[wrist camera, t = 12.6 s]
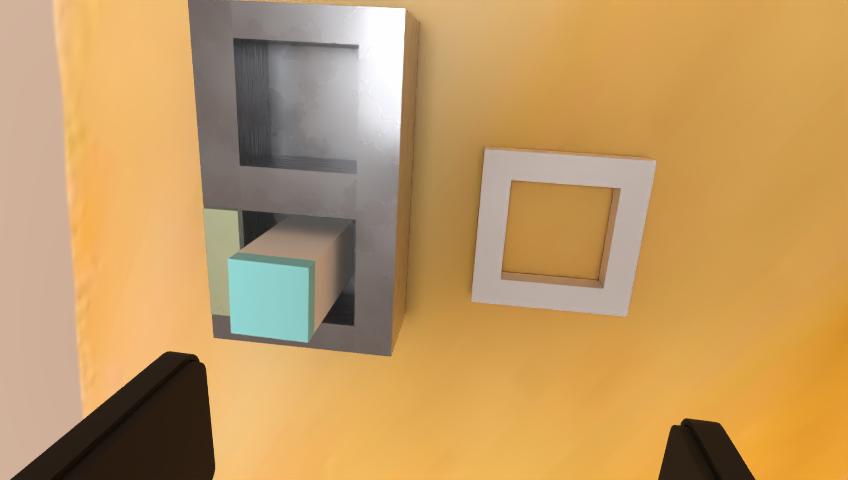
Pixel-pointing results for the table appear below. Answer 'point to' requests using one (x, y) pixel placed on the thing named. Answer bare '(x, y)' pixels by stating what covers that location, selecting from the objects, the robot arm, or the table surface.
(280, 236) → the plug
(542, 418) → the table surface
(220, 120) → the port block
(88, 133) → the table surface
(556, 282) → the white square frame
